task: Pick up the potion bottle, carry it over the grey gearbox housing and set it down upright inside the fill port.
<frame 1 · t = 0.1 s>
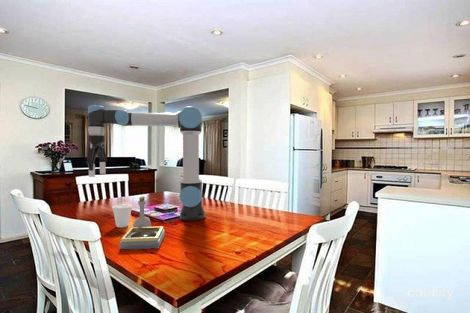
hand: (97, 175, 138), 28 cm above the table, fingers open, 13 cm apart
cup: (122, 226, 141), on the table
housing: (143, 241, 118), on the table
potion bottle: (142, 232, 132), on the table
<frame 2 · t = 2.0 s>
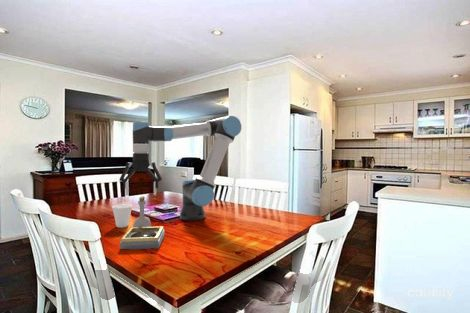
hand: (141, 194, 131), 19 cm above the table, fingers open, 13 cm apart
nothing on the table moved.
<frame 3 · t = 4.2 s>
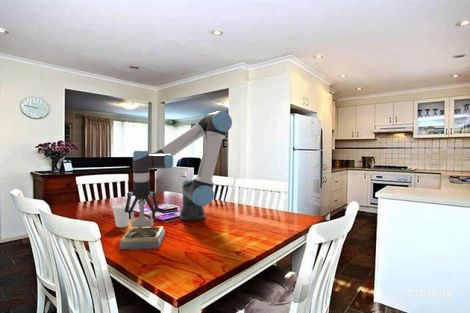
hand: (142, 225, 132), 3 cm above the table, fingers closed on potion bottle, 9 cm apart
potion bottle: (142, 232, 132), on the table, touching gripper
everything else where it was.
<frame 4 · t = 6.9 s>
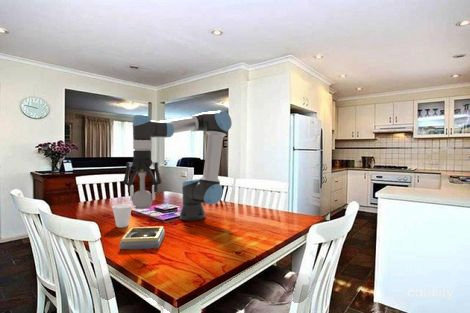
hand: (142, 199, 118), 19 cm above the table, fingers closed on potion bottle, 9 cm apart
potion bottle: (142, 207, 118), point 16 cm above the table, touching gripper
everything else where it was.
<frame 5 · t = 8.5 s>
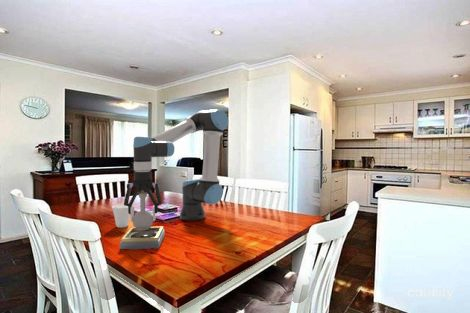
hand: (143, 220, 118), 10 cm above the table, fingers closed on potion bottle, 9 cm apart
potion bottle: (143, 228, 118), point 6 cm above the table, touching gripper
everything else where it was.
when the fingers open (8 cm above the table, at t = 9.9 s): potion bottle drops 1 cm, resting on housing.
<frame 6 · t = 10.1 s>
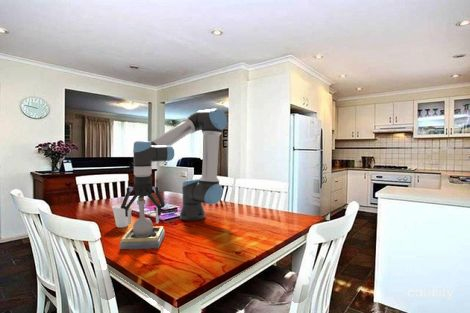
hand: (143, 223, 118), 9 cm above the table, fingers open, 11 cm apart
potion bottle: (143, 235, 118), point 3 cm above the table, touching housing
everything else where it was.
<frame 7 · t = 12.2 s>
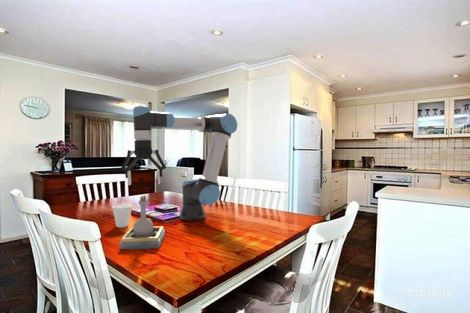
hand: (144, 184, 124), 25 cm above the table, fingers open, 13 cm apart
nothing on the table moved.
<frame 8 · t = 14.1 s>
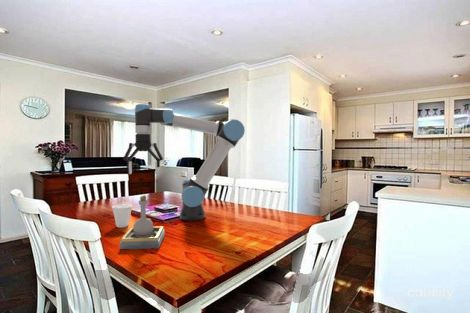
hand: (143, 173, 139), 29 cm above the table, fingers open, 13 cm apart
nothing on the table moved.
at the end: potion bottle inside the target area on the housing (0.1 cm from its centre), point 3.0 cm above the housing's base; potion bottle tilted 0°; the gripper is holding nothing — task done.
